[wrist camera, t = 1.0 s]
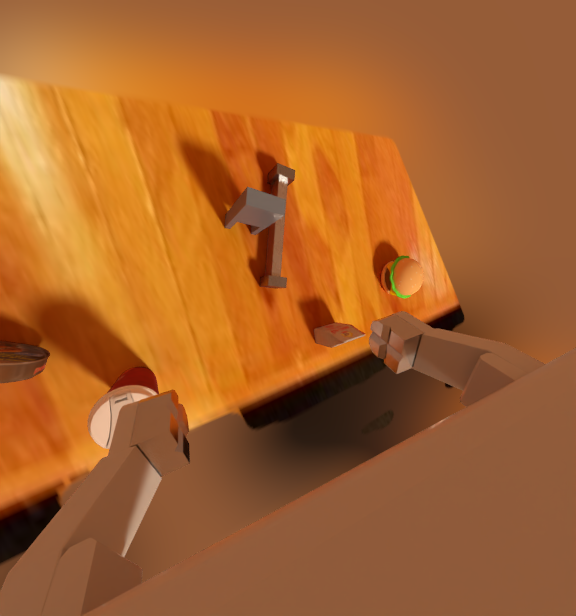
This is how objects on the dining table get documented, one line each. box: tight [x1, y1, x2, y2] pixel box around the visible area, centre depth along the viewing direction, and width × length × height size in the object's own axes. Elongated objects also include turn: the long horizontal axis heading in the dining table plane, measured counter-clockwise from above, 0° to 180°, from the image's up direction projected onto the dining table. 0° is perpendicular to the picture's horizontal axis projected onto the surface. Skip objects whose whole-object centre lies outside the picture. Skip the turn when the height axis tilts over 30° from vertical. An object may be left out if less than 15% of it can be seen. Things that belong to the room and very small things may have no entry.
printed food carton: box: [314, 323, 365, 348], centre depth 54 cm, size 4×7×10 cm, turn 100°
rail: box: [260, 163, 295, 288], centre depth 48 cm, size 24×4×4 cm, turn 175°
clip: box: [225, 187, 286, 235], centre depth 41 cm, size 6×3×13 cm, turn 85°
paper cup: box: [88, 367, 159, 449], centre depth 33 cm, size 8×8×14 cm
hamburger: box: [381, 256, 424, 298], centre depth 66 cm, size 12×12×9 cm
